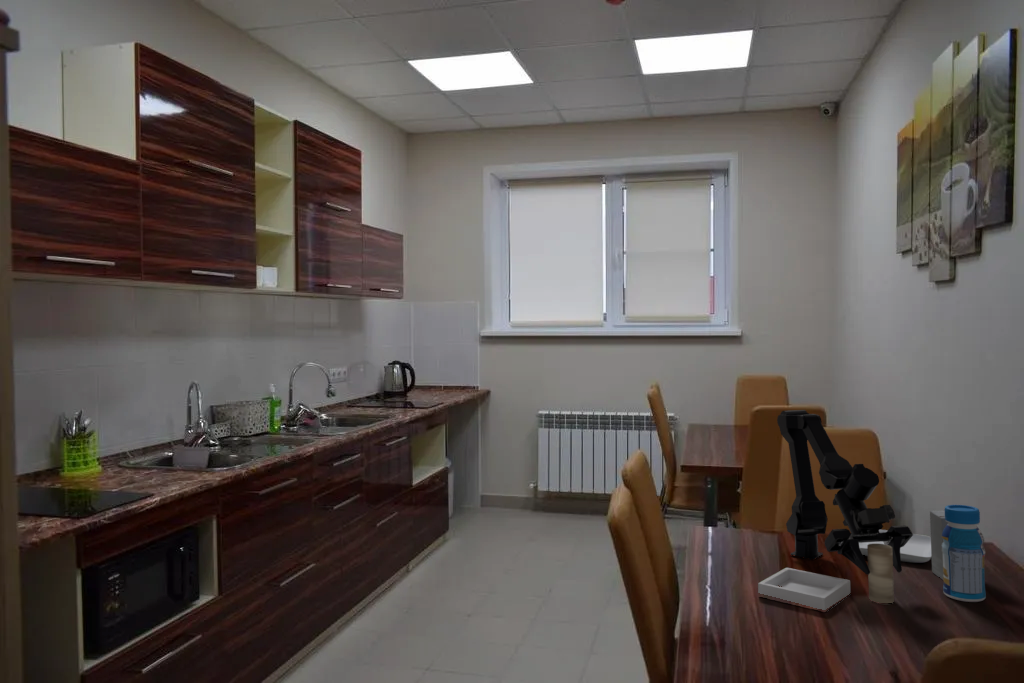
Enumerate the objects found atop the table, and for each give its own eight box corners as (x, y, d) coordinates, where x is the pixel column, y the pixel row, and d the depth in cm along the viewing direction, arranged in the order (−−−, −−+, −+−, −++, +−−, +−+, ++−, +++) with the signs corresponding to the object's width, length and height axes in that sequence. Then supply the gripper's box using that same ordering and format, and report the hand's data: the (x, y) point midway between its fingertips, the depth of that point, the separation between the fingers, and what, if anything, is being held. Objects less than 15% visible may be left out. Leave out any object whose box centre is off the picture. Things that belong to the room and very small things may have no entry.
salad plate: (931, 569, 184) (930, 556, 184) (841, 556, 197) (840, 544, 197) (942, 549, 201) (942, 536, 201) (859, 538, 214) (858, 526, 214)
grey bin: (786, 580, 178) (786, 567, 178) (850, 594, 168) (850, 580, 168) (758, 597, 168) (758, 583, 168) (824, 613, 157) (824, 598, 157)
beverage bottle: (965, 605, 159) (962, 513, 159) (933, 592, 167) (931, 505, 167) (996, 600, 162) (993, 510, 161) (963, 588, 170) (960, 502, 170)
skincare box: (965, 572, 180) (963, 508, 180) (981, 582, 173) (979, 515, 173) (929, 572, 181) (927, 508, 181) (943, 582, 174) (941, 515, 174)
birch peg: (873, 594, 167) (871, 542, 167) (897, 599, 164) (895, 546, 164) (865, 600, 164) (864, 547, 164) (889, 605, 160) (888, 551, 160)
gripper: (829, 494, 167) (858, 557, 156) (906, 490, 168) (940, 552, 157) (813, 520, 174) (839, 581, 163) (886, 516, 176) (917, 576, 165)
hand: (884, 572), depth 162 cm, fingers open, 7 cm apart
